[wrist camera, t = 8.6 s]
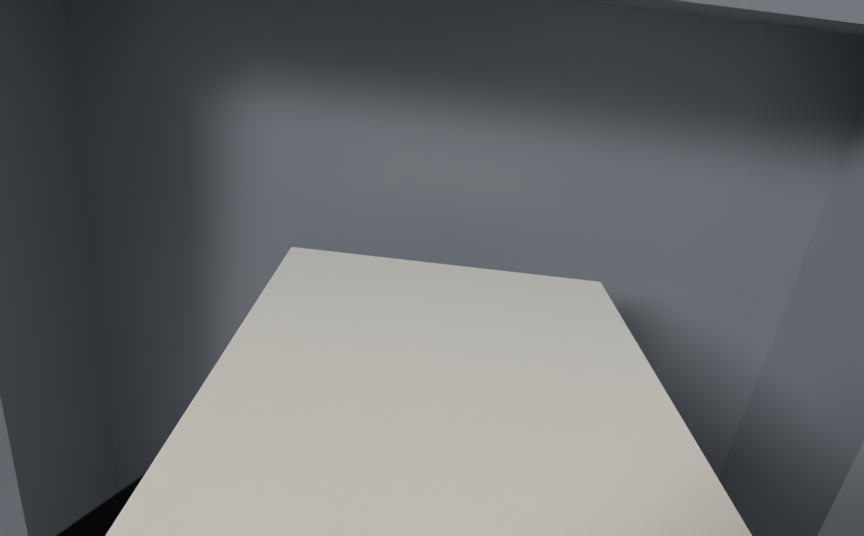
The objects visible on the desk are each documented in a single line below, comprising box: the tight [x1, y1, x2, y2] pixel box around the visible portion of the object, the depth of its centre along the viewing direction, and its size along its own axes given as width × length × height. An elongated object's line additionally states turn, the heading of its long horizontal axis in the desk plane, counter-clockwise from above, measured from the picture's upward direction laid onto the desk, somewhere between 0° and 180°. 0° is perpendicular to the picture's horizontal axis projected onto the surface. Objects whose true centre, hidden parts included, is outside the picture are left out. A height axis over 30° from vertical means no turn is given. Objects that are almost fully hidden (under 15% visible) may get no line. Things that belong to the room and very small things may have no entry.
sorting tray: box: [0, 0, 864, 536], centre depth 10 cm, size 14×14×3 cm
